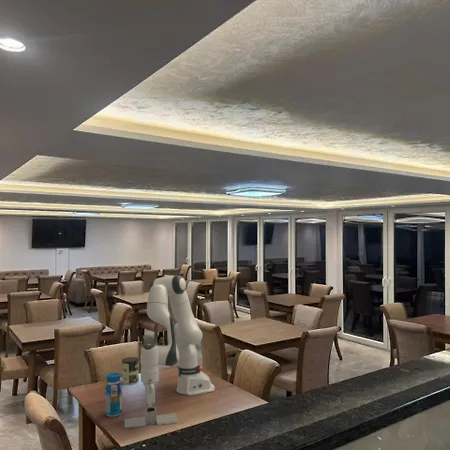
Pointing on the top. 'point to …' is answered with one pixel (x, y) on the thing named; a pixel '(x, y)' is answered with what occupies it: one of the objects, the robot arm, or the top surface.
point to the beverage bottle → (113, 395)
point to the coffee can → (130, 371)
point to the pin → (149, 408)
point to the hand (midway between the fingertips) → (150, 405)
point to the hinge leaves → (150, 419)
